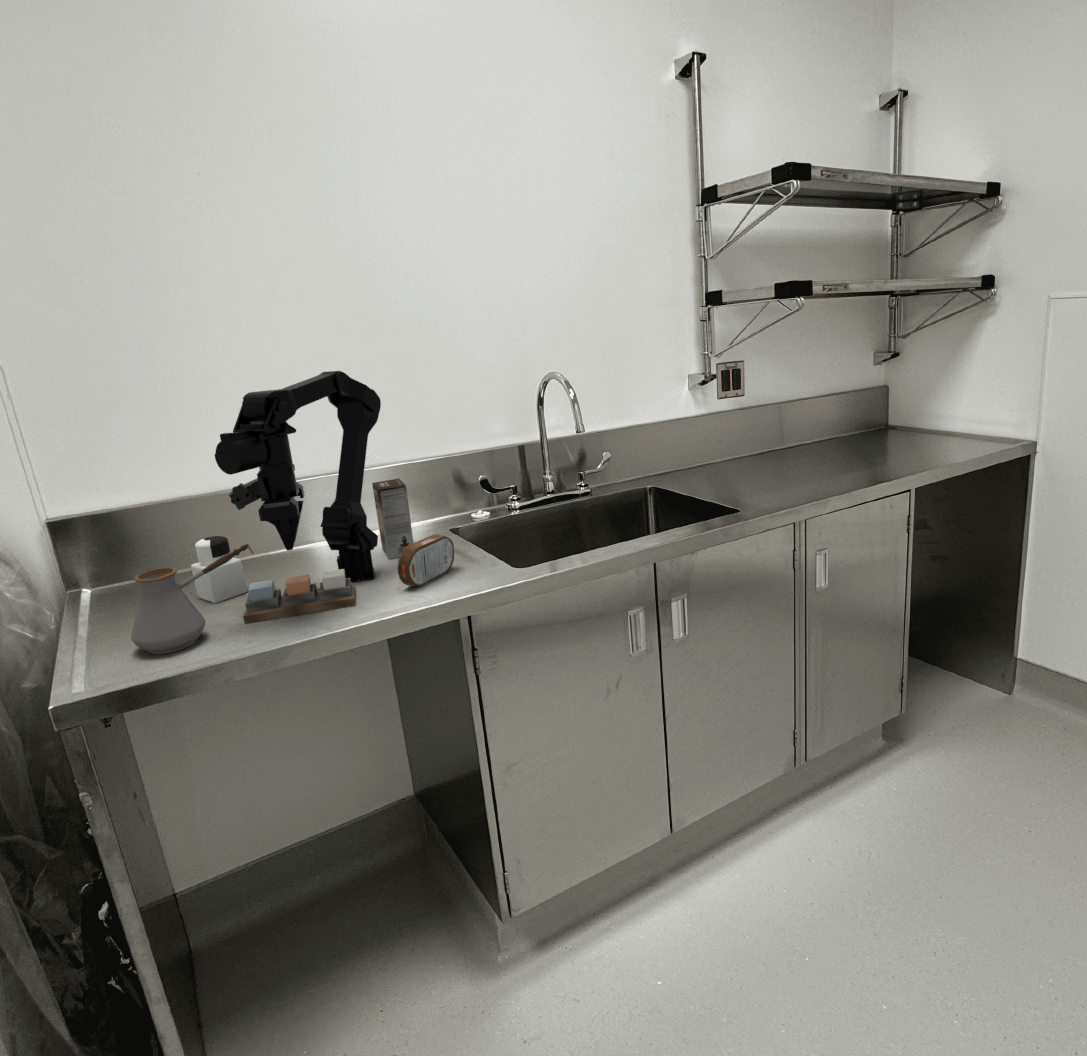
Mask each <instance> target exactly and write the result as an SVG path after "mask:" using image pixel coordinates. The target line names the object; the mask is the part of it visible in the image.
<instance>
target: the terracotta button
mask: <svg viewBox="0 0 1087 1056" xmlns="http://www.w3.org/2000/svg"><path fill="white" fill-rule="evenodd" d="M310 577H311V576H310V573H309V574H303V575H302V574H301V575H296V576H295V575H294V576H289V577H286V582H285V584H284V585H285V588H286V590H287V596H291V595H297V594H304V593H310V592H311V591H312V587H311V584H312V583H311V578H310Z"/></svg>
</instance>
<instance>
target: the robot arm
mask: <svg viewBox="0 0 1087 1056" xmlns="http://www.w3.org/2000/svg"><path fill="white" fill-rule="evenodd" d="M326 397H327V400H328V402H329V403H330V404H331V405H332V406H333V407H335V408H336V409H337V411H336V412H337V413H336V415H337V419H338V421H339V424H340V426H341V428H342V439H341V447H340V448H341V450H340V454H339V455H340V456H339V457H340V458H339V465H338V473H337V474H338V475H337V482H336V483H337V484H336V491H335V498H334V501H333V502H332V504H331V505H330V506H324V507H323V510H322V520H321V524H320V528H322V530H321V532H322V533H321V534H322V537H323V538H324V539H325V541H326V543H327V545H328V547H329V549H330V551H338V556H337V557H336V563H337V570H340V569H344V570H345V576H346V578H350V579H351V583H353V582H358V581H365V580H371V579H376V575H375V566H374V563H373V557H372V551H373V550H374V549H375V548H376V547H378V543H379V541H378V537H379V536H378V535H377V534H376V533H375V532H374V531H373V530H372V529H371V528H369V527H368V520H367V519H368V517H367V514H366V512H365V509H364V508H363V505H362V503H361V501H362V493H363V492H362V491H363V486H364V485H363V483H364V475H365V465H366V456H367V449H368V440H369V439H368V438H369V433H370V432H371V430H372V429H373V428H374V426H375V425H376V424H377V422H378V419H379V414H380V412H381V408H382V407H381V406H382V402H381V398H380V396H379V395H378V393H377V392H376V390H375V389H373V388H370V387H369V386H368V385H367V384H365V383H363V382H361V381H358V380H356V379H354V378H352V377H350V376H349V375H348V374H347V373H346V372H343V371H341V370H332V371H329V370H328V371H323V372H321V373H320V374H318V375H316V376H312V377H310V378H308V379H307V378H306V379H305V380H301V381H299V382H297V383H294V384H291V385H289V386H285V387H283V388H279V389H269V390H259V391H250V392H247V393H246V394H244V396H243V397H242V403H241V407H240V410H239V413H238V416H237V419H236V421H235V424H234V426H233V428H232V429H233V430H232V432H223V433H220V434H219V439H220V441H219V442H218V444H217V445H216V447H215V453H214V459H215V462H216V464H217V466H218V468H219V469H220V470H221V471H222V472H223V473H224V474H227V475H229V476H230V475H235V474H240V473H242V472H245V471H250V470H252V469H253V470H254V469H257V468H259V471H258V472H257V473H256V478H255V479H252V480H250V481H248V482H246V483H245V484H244V483H239V484H238V485H236V486H233V487H232V489H231V491H230V492H229V494H228V496H229V498H230V503H231V504H233V505H234V506H235V507H236V509H237V510H238V511H240V510H243V509H244V508H245V507H246V506H248V505H250V504H252V503H254V502H256V501H259V500H260V501H261V502H263V503H262V504H261V505H260V506H259V509H258V516H259V521H260V522H267V523H270V524H271V525H273V526H275V527H274V528H275V529H276V531H277V533H278V534H279V538H280V540H281V542H282V544H283V546H284V548H285V550H286V551H293V549H294V547H295V546H294V545H295V542H296V539H297V535H298V529H299V524H300V520H301V515H302V510H303V506H304V500H297V499H295V497H296V498H297V497H300V499H304V498H305V490H304V486H303V485H302V484H301V483H299V482H297V479H296V473H295V471H296V467H295V463H294V462H293V456H292V453H291V451H292V450H291V445H290V441H289V440H290V439H289V435H291V434H295V433H296V432H297V429H296V428H295V427H294V426H292V425H290V424H289V423H288V422H287V421H288V420H290V419H292V417H294V416H295V415H296V413H297V411H298V410H299V409H301V408H302V407H306V406H307V405H309V404H312V403H314V402H317V401H320V400H322V399H325V398H326Z"/></svg>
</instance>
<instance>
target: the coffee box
mask: <svg viewBox="0 0 1087 1056" xmlns="http://www.w3.org/2000/svg"><path fill="white" fill-rule="evenodd" d="M371 484H372V491H373V496H374V497H373V498H374V503H375V505H374V506H375V510H376V516H377V523H378V524H377V525H378V530H379V537H380V543H381V544H380V545H381V548H382V551H383V552H384V554H385V555H386V557H387V559H389V560H391V559H397V558H400V555H401V553H402V552H403V550H404V549H405V548H406V547H407V546H408V545H410V544H412V543H415V541H414V537H413V536H414V535H413V528H412V521H411V513H410V507H409V506H410V505H409V499H408V491H407V485H406V484H405V483H404V481H402V480H401V479H400V478H393V479H388V480H380V481H375V482H374V481H373V482H372V483H371Z"/></svg>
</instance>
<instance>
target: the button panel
mask: <svg viewBox="0 0 1087 1056" xmlns="http://www.w3.org/2000/svg"><path fill="white" fill-rule="evenodd" d="M346 582H347V587H341V588H335V589H329V590H324V588H323V582H322V581H321V582H320V583H319V589H317V588H318V587H317V583H315V582H314V583H311V587H312V591H311V592H310V593H304V594H297V595H291V596H287V590H286V587H285V588H284V591H283V594H282V590H281V588H277V589H276V588H275V591H276V596H275V598H272V599H266V600H259V601H253V602H250V597H249V594H248V596H247V598H246V601H245V604H244V605H245V610H244V613H243V616H242V618H243V621H244V622H243V623H244V624H245V625H246V624H247V625H248V624H251V623H258V622H263V621H271V620H277V619H281V618H288V617H294V616H299V615H306V614H313V613H319V612H323V611H325V610H326V611H331V610H330V609H332V610H336V609H342V608H343V609H344V608H349V606H350V607H355V606H354V605H356V604H357V601H356V599H357V597H356V594H357V591H356V586H355V583H352V582H351V579H350V578H346ZM356 606H357V605H356ZM326 611H325V612H326Z"/></svg>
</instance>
